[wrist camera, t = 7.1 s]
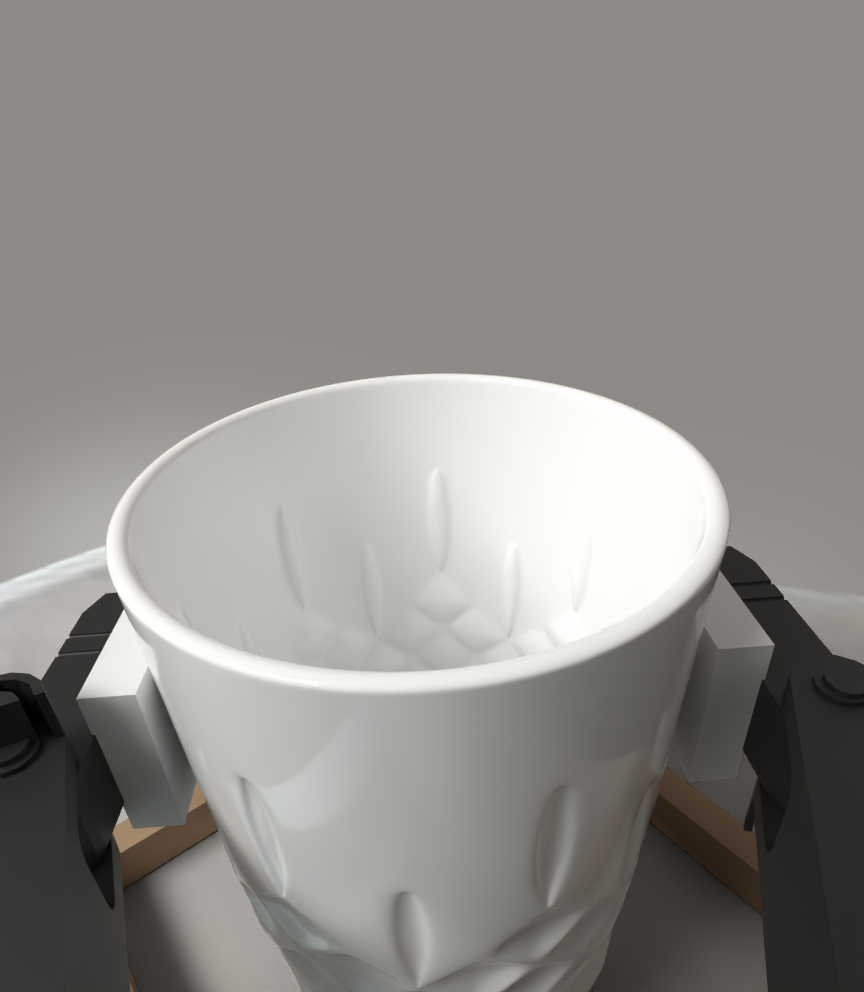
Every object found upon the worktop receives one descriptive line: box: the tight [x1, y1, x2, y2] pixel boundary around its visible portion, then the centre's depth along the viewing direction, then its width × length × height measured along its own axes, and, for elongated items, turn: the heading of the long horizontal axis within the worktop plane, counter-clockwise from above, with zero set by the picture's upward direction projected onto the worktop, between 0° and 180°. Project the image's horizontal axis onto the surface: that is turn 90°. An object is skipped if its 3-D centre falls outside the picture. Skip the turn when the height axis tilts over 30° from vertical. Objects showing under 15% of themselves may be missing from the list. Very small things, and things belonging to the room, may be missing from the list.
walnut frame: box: [113, 767, 762, 992], centre depth 15 cm, size 13×13×1 cm
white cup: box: [106, 374, 730, 992], centre depth 11 cm, size 8×8×10 cm
